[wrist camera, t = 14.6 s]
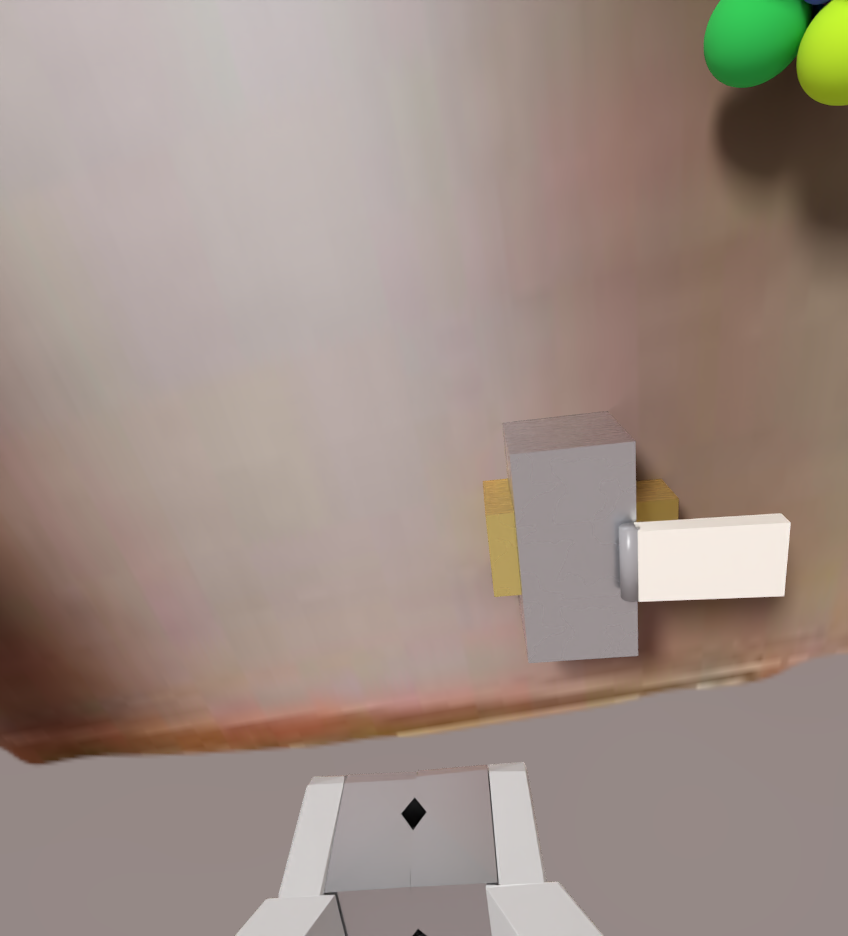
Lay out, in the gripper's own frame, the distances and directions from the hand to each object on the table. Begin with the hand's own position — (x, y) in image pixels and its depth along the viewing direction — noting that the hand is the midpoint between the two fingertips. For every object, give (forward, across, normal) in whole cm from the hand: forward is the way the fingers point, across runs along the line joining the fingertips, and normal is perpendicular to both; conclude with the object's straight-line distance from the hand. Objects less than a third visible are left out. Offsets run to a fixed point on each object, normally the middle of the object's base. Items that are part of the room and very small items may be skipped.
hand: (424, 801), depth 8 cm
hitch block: (+26, -7, +8) cm, 28 cm away
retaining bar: (+20, -9, +8) cm, 23 cm away
